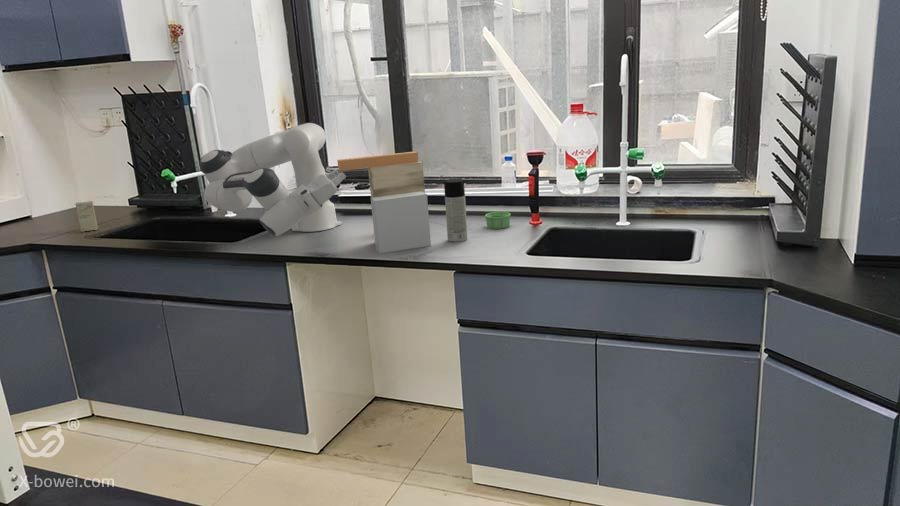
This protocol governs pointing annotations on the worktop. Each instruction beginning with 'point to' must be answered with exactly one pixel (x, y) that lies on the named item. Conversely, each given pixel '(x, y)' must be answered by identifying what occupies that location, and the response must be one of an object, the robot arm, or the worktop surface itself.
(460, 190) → the spray can
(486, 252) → the worktop surface
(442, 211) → the worktop surface
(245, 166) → the robot arm
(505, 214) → the ramekin
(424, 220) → the base
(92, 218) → the skincare box
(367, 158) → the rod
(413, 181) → the beige rectangular block
